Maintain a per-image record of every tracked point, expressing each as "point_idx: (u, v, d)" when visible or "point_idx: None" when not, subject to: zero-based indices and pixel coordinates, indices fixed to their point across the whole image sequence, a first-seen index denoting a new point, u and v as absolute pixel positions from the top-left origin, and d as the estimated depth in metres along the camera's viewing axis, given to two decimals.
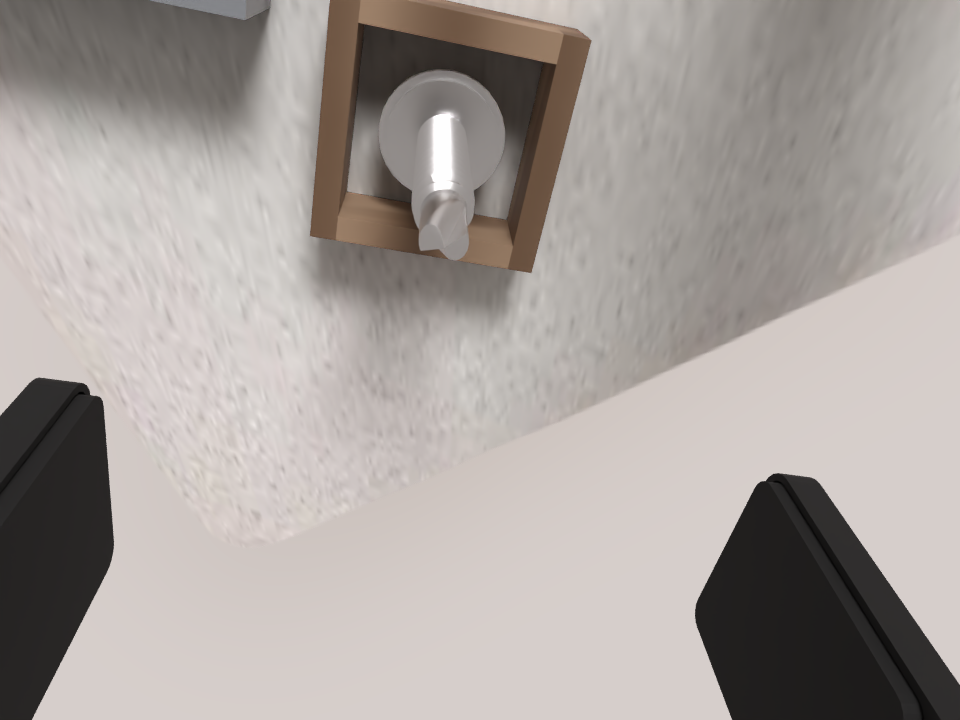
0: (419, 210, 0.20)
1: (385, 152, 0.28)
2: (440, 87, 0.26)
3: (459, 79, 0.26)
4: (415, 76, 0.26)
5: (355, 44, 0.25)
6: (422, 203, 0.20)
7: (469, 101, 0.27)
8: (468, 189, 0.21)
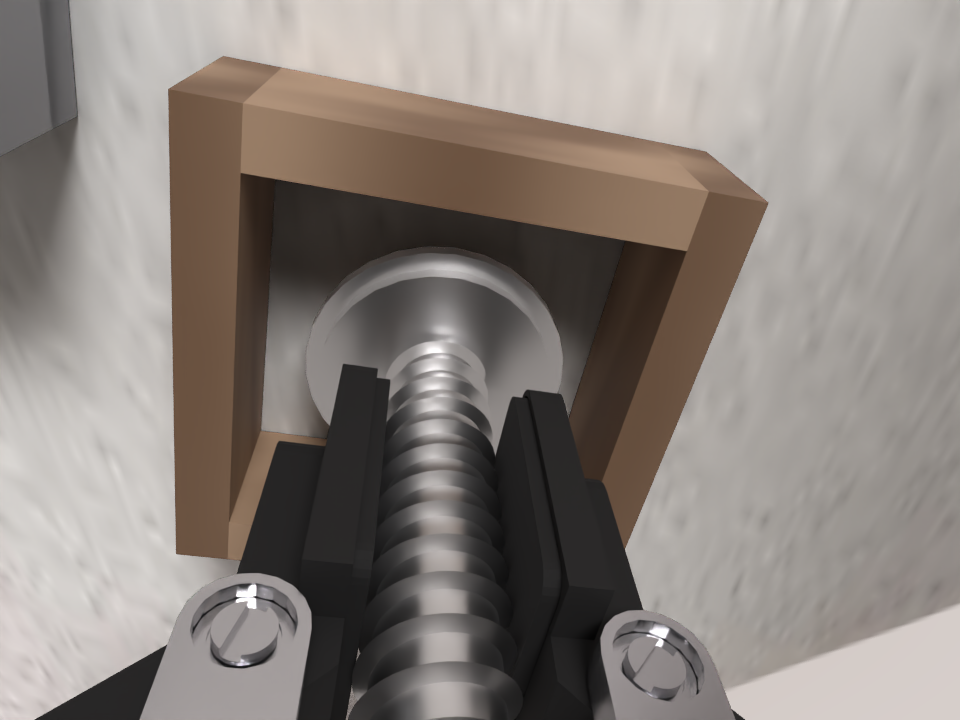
0: None
1: (322, 400, 0.14)
2: (431, 289, 0.12)
3: (471, 269, 0.13)
4: (378, 264, 0.12)
5: (238, 216, 0.11)
6: None
7: (492, 313, 0.13)
8: None
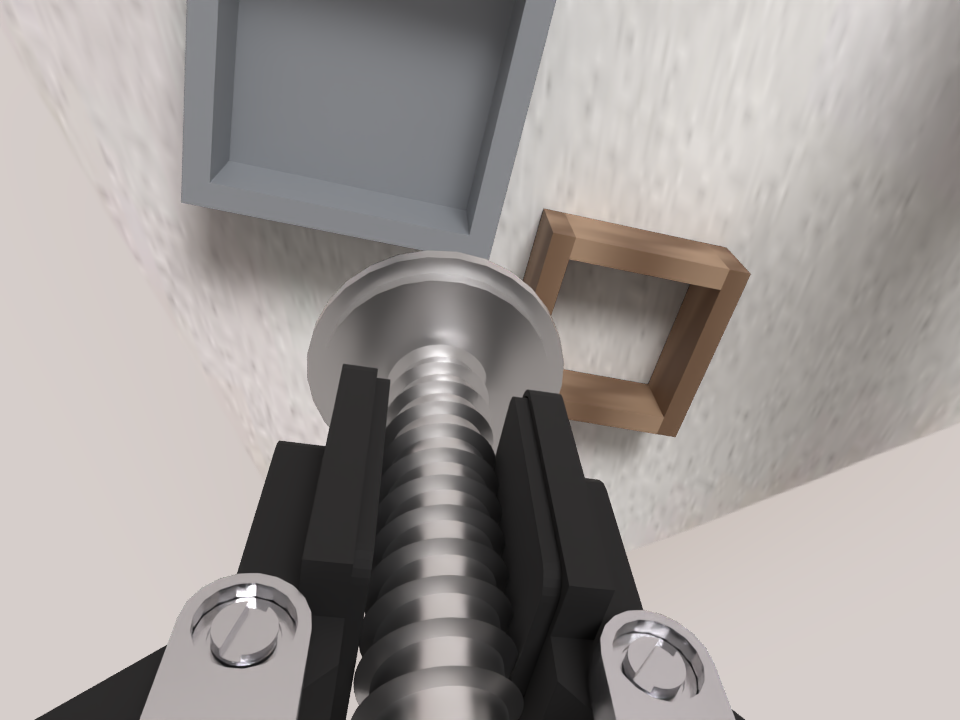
0: None
1: (323, 404, 0.14)
2: (432, 293, 0.12)
3: (472, 273, 0.13)
4: (380, 268, 0.12)
5: (563, 273, 0.31)
6: None
7: (493, 317, 0.13)
8: None
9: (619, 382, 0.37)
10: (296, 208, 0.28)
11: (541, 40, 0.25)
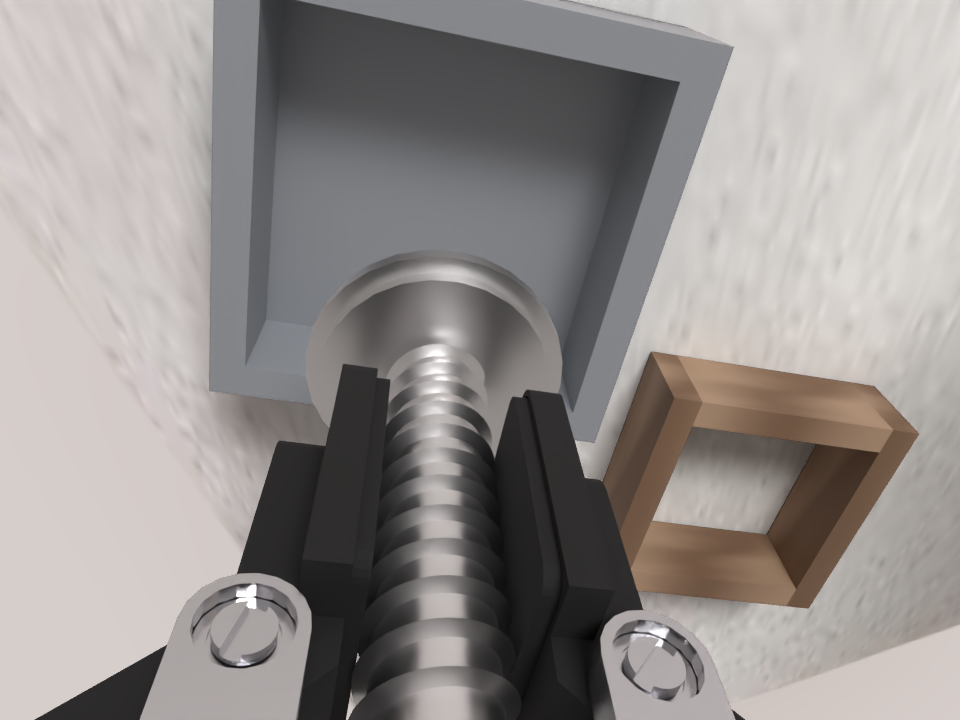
0: None
1: (322, 403, 0.14)
2: (431, 292, 0.12)
3: (471, 273, 0.13)
4: (378, 268, 0.12)
5: (684, 441, 0.25)
6: None
7: (492, 316, 0.13)
8: None
9: (734, 536, 0.31)
10: None
11: (679, 186, 0.19)
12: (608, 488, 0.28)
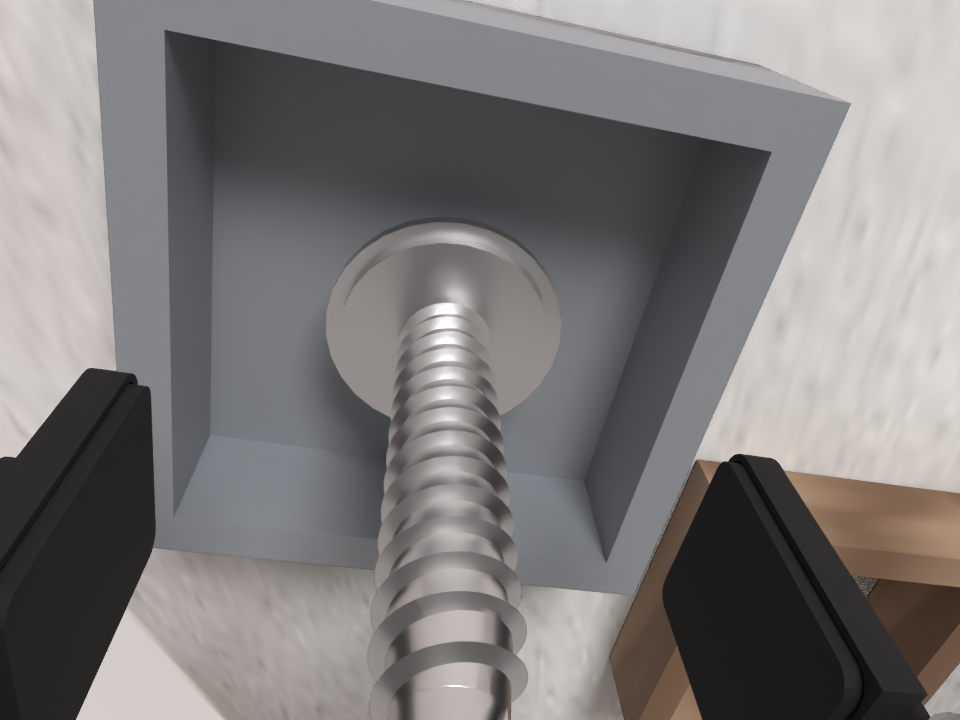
0: (385, 710, 0.08)
1: (340, 360, 0.15)
2: (441, 254, 0.14)
3: (477, 237, 0.14)
4: (393, 232, 0.14)
5: None
6: (392, 701, 0.07)
7: (497, 277, 0.14)
8: (512, 618, 0.08)
9: None
10: (321, 543, 0.16)
11: (761, 288, 0.14)
12: (640, 616, 0.23)
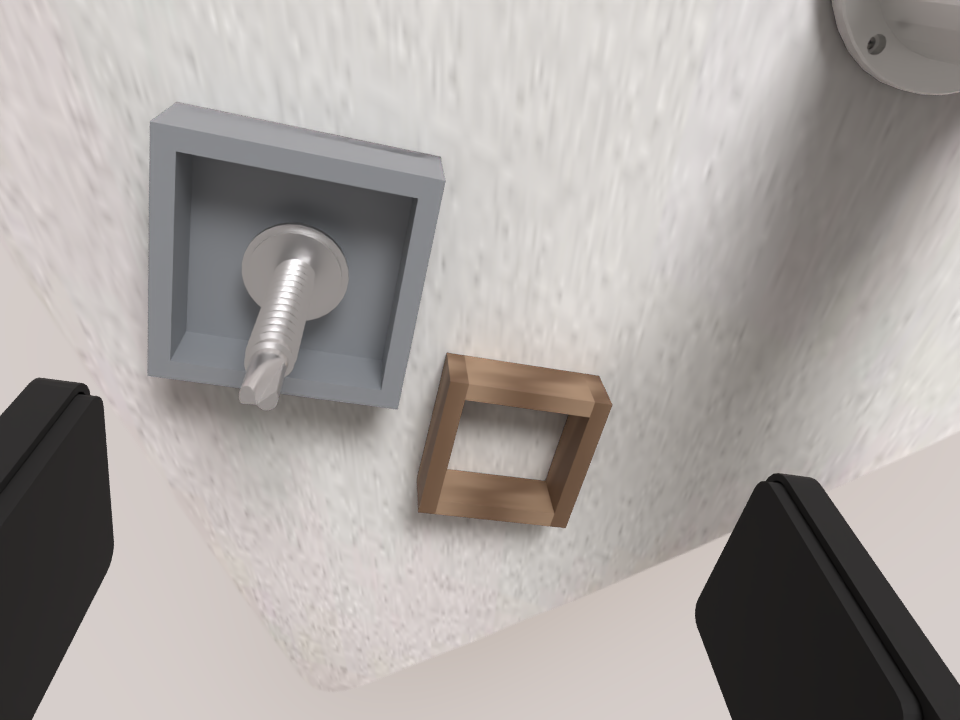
0: (248, 363, 0.26)
1: (248, 286, 0.33)
2: (290, 238, 0.32)
3: (307, 231, 0.32)
4: (270, 228, 0.32)
5: (461, 410, 0.38)
6: (250, 359, 0.26)
7: (315, 248, 0.33)
8: (290, 344, 0.27)
9: (520, 481, 0.45)
10: (240, 376, 0.35)
11: (426, 254, 0.33)
12: (426, 446, 0.42)
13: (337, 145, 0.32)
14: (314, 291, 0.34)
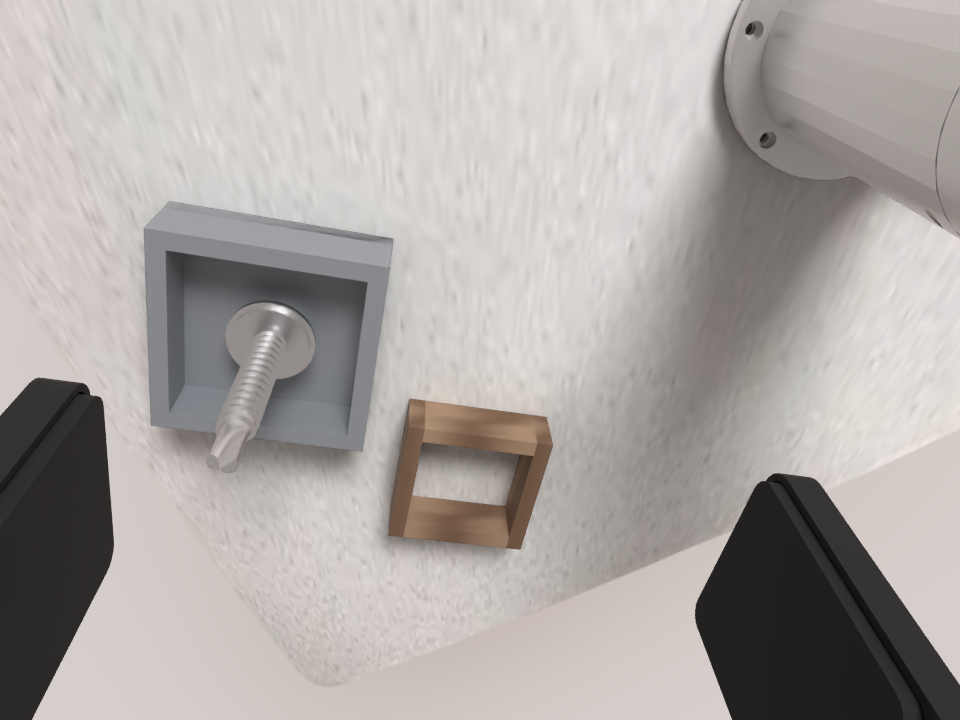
0: (218, 432, 0.32)
1: (232, 351, 0.40)
2: (264, 314, 0.38)
3: (277, 307, 0.39)
4: (247, 306, 0.38)
5: (420, 450, 0.44)
6: (219, 428, 0.32)
7: (285, 321, 0.39)
8: (253, 414, 0.33)
9: (482, 507, 0.50)
10: None
11: (378, 326, 0.38)
12: (396, 477, 0.48)
13: (301, 236, 0.38)
14: (286, 356, 0.40)
